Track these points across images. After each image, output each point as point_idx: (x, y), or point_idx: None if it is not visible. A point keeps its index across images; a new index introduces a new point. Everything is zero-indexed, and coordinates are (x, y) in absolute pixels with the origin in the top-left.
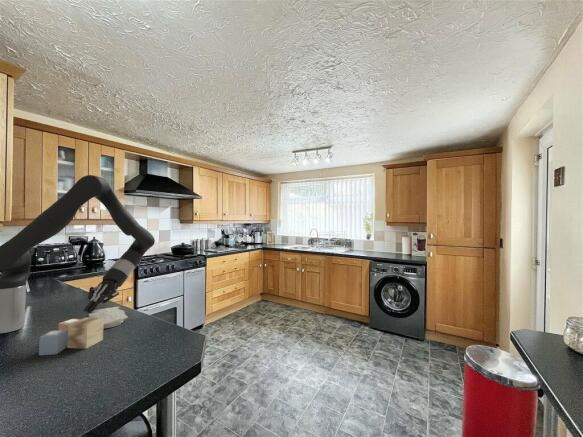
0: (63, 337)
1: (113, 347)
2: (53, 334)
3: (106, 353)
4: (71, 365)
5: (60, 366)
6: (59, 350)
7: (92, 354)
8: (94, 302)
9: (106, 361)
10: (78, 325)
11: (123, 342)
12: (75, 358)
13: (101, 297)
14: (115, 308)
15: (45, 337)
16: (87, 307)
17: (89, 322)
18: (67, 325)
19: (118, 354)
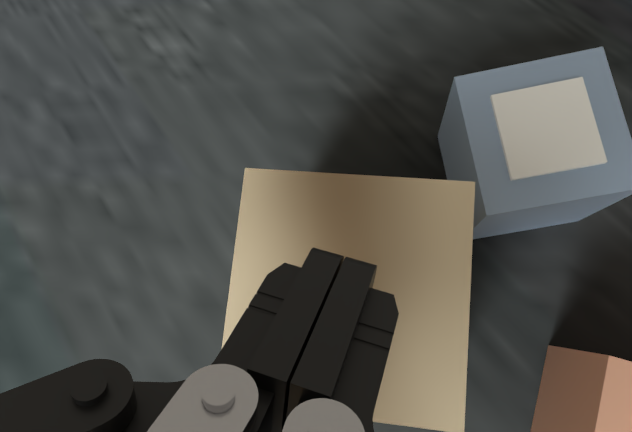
0: (463, 171)
1: (117, 238)
2: (513, 90)
3: (115, 156)
4: (226, 19)
5: (280, 6)
6: (445, 159)
7: (194, 141)
8: (244, 376)
9: (62, 69)
10: (348, 174)
11: (89, 317)
12: (263, 90)
13: (61, 422)
14: None
15: (550, 60)
16: (326, 284)
17: (285, 254)
18: (625, 361)
19: (37, 147)
